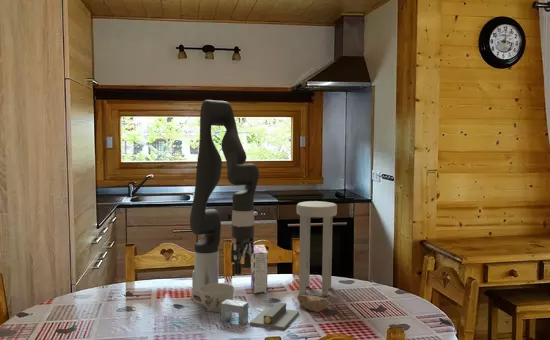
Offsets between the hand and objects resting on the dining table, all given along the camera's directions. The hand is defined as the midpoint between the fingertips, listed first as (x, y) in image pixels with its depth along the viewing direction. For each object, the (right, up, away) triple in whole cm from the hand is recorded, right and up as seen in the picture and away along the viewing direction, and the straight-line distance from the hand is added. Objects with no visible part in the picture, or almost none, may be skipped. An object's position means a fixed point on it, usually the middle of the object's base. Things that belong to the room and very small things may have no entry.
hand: (242, 270), depth 181 cm
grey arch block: (-3, -17, 0) cm, 17 cm away
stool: (+27, -15, +35) cm, 47 cm away
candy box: (+4, -14, +37) cm, 40 cm away
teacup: (-11, -16, +12) cm, 23 cm away
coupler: (+11, -17, +3) cm, 20 cm away
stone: (+25, -17, +14) cm, 33 cm away
